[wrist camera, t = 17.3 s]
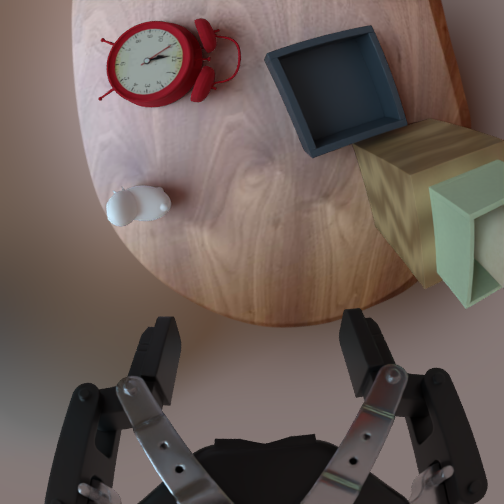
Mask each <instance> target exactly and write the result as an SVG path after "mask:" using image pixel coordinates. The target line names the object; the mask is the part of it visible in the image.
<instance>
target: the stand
mask: <svg viewBox="0 0 504 504" xmlns="http://www.w3.org/2000/svg"><path fill="white" fill-rule="evenodd" d="M353 147H354V151H355V154H356V157H357V160H358V163H359V167H360V170H361V173H362V177H363V180H364V184H365V187H366V191H367V194H368V198H369V202H370V206H371V210H372V214H373V218H374V222H375V226H376V228H377V229H378V231H379V232H380V233H381V234H382V235H383V237H384V238H385V239H386V240H387V241H388V243H389V244H390V245H391V246H392V248H393V249H394V250H395V251H396V252H397V254H398V255H399V256H400V258H401V259H402V260H403V261H404V263H405V264H406V265H407V266H408V268H409V269H410V270H411V272H412V273H413V274H414V276H415V277H416V278H417V280H418V281H419V282H420V284H421V285H422V286H423V288H424V289H426V288H429V287H431V286H432V285H435V284H437V283H439V282H441V281H443V279H442V278H441V277H440V275H439V274H438V273H437V265H436V247H435V235H434V225H433V216H432V207H431V200H430V193H429V187H430V186H432V185H435V184H438V183H440V182H443V181H445V180H448V179H450V178H453V177H455V176H458V175H460V174H463V173H465V172H468V171H470V170H473V169H475V168H478V167H480V166H483V165H485V164H488V163H490V162H493V161H495V160H501V161H503V162H504V140H502V139H499V138H496V137H494V136H491V135H488V134H485V133H481V132H478V131H475V130H472V129H469V128H465V127H462V126H458V125H454V124H451V123H447V122H443V121H439V120H435V119H431V118H430V119H427V120H423V121H420V122H416V123H413V124H410V125H407V126H404V127H401V128H398V129H394V130H391V131H388V132H385V133H382V134H379V135H376V136H373V137H370V138H367V139H364V140H361V141H359V142H356V143H353Z"/></svg>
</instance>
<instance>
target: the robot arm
mask: <svg viewBox="0 0 504 504" xmlns="http://www.w3.org/2000/svg"><path fill="white" fill-rule="evenodd" d="M339 341H340V346H341V349H342V352H343V355H344V358H345V362H346V365H347V369H348V372H349V375H350V379H351V382H352V386H353V389H354V393H355V396H356V398H357V397H364V403H363V405H362V407H361V408H360V410H359V412H358V414H357V416H356V418H355V420H354V421H353V423H352V425H351V427H350V429H349V431H348V432H347V434H346V436H345V437H344V439H343V441H342V443H341V444H340V446H339V447H337V446H336V445H334V444H331V443H329V442H325V441H321V440H316V438H315V434H310V435H302V436H291V437H288V438H284V439H281V440H278V441H274V442H271V443H266V444H263V443H257V442H252V441H247V440H242V439H215V444H214V445H210V446H207V447H204V448H202V449H200V450H198V451H196V452H194V453H193V454H192V452H191V451H190V450H189V448H188V447H187V446H186V444H185V443H184V441H183V440H182V439H181V437H180V436H179V435H178V433H177V432H176V430H175V429H174V427H173V426H172V424H171V423H170V421H169V420H168V418H167V417H166V415H165V414H164V413H163V411H162V407H163V405H171V398H172V393H173V388H174V383H175V378H176V373H177V368H178V363H179V358H180V353H181V339H180V335H179V331H178V328H177V325H176V321H175V318H174V317H158V318H157V320H156V324H155V327H148V328H147V329H146V330H145V332H144V333H143V334H142V336H141V338H140V341H139V345H138V347H137V351H136V353H135V356H134V359H133V362H132V365H131V368H130V371H129V374H128V376H127V377H125V378H123V379H122V380H120V382H119V383H118V384H117V386H115V387H111V388H105V389H98V388H97V387H96V386H95V385H94V384H92V383H84V384H81V385H79V386H78V387H77V388H76V389H75V391H74V392H73V395H72V398H71V401H70V404H69V407H68V410H67V413H66V417H65V420H64V423H63V426H62V430H61V433H60V437H59V440H58V444H57V448H56V452H55V456H54V460H53V464H52V468H51V473H50V477H49V482H48V487H47V492H46V497H45V504H121V498H120V496H119V494H118V493H117V492H116V491H115V490H113V489H112V486H113V479H114V471H115V465H116V458H117V452H118V446H119V441H120V435H121V430H122V429H129V428H133V431H134V433H135V435H136V437H137V439H138V440H139V443H140V444H141V446H142V448H143V450H144V451H145V453H146V454H147V456H148V458H149V460H150V461H151V463H152V465H153V466H154V468H155V469H156V471H157V472H158V474H159V476H160V477H161V479H162V480H163V482H162V483H161V484H160V485H159V486H157V487H156V488H155V489H154V490H153V491H152V492H151V493H149V494H148V495H147V496H146V497H145V498H144V499H143V500H141V501H140V502H139V503H138V504H474V503H476V502H478V501H479V500H481V499H482V498H483V497H484V495H485V493H486V491H487V486H488V483H487V479H486V475H485V471H484V468H483V464H482V461H481V458H480V454H479V451H478V448H477V445H476V442H475V439H474V436H473V433H472V430H471V427H470V425H469V422H468V419H467V417H466V414H465V411H464V409H463V406H462V404H461V401H460V399H459V396H458V394H457V391H456V389H455V387H454V385H453V382H452V380H451V378H450V376H449V374H448V373H447V372H446V371H444V370H443V369H441V368H432V369H429V370H428V371H427V372H426V374H425V375H417V374H409V373H407V372H406V371H405V370H404V369H403V368H402V367H400V366H399V365H396V364H395V361H394V359H393V357H392V355H391V352H390V350H389V348H388V346H387V343H386V341H385V340H384V337H383V335H382V334H381V330H380V328H379V326H378V324H377V323H376V322H375V321H374V320H373V319H372V318H365V317H364V315H363V313H362V310H361V309H360V308H355V309H345V310H344V312H343V317H342V322H341V327H340V332H339ZM395 416H399V417H405V419H406V423H407V426H408V430H409V433H410V438H411V442H412V446H413V450H414V453H415V458H416V462H417V467H418V471H419V475H418V476H417V477H416V478H415V479H414V481H413V483H412V494H411V497H410V499H409V500H407V499H406V498H405V497H404V496H403V495H401V494H400V493H398V492H397V491H395V490H394V489H393V488H391V487H390V486H388V485H387V484H385V483H384V482H383V481H382V480H380V479H379V478H378V477H376V476H375V475H373V474H372V473H371V472H370V471H371V469H372V467H373V465H374V463H375V461H376V459H377V457H378V455H379V453H380V451H381V449H382V447H383V445H384V442H385V440H386V438H387V436H388V434H389V431H390V429H391V427H392V425H393V422H394V420H395Z"/></svg>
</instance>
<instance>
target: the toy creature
mask: <svg viewBox="0 0 504 504" xmlns="http://www.w3.org/2000/svg"><path fill="white" fill-rule="evenodd" d="M113 192H114V195H113V196H112V197H111V198H110V199H109V201H108V202H107V206H106V207H107V216H108V220H109V221H110V222H111V223H112V224H114V225H116V226H126V225H128V224H130V223H131V222H132V221H133V220H139V221H152V220H156V219H159V218H161V217H163V216H164V215H166V214H167V213H168V211H169V210H170V207H171V201H170V198H169V197H168V195H167V194H166V193H165V192H164V190H163V188H161V187H157V188H155V187H152V186H145V185H141V186H134V187H131V188H128V189H126V190H125V189H124V188H123V187H122V191H118V192H115V191H113Z"/></svg>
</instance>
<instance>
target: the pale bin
mask: <svg viewBox="0 0 504 504" xmlns="http://www.w3.org/2000/svg"><path fill="white" fill-rule="evenodd" d="M429 193H430V200H431V207H432V216H433V225H434V235H435V247H436V265H437V273H438V274H439V275H440V277H441V278H442V279H443V281H444V282H445V283H446V284H447V285H448V287H449V288H450V289H451V290H452V292H453V293H454V294H455V295H456V296H457V298H458V299H459V300H460V302H461V303H462V304H463V306H464V307H465V308H468V307H470V306H472V305H474V304H475V303H477V302H479V301H480V300H482V299H484V298H486V297H487V296H489V295H491V294H492V293H494V292H496V291H497V290H499V289H500V288H502V286H501V285H500V284H499V283H498V282H497V281H496V280H495V279H494V278H493V277H492V276H491V275H490V273H489V272H488V271H487V270H486V269H485V268H484V267H483V266H482V265H481V264H480V263H479V262H478V261H477V260H476V259H475V258H474V219H475V218H477V217H479V216H481V215H483V214H485V213H487V212H489V211H491V210H493V209H495V208H497V207H499V206H501V205H503V204H504V162H503V161H501V160H495V161H493V162H490V163H488V164H485V165H483V166H480V167H478V168H475V169H473V170H470V171H468V172H465V173H463V174H460V175H458V176H455V177H453V178H450V179H448V180H445V181H443V182H440V183H438V184H435V185H432V186H430V187H429Z"/></svg>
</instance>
